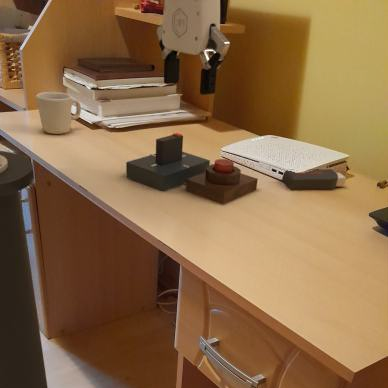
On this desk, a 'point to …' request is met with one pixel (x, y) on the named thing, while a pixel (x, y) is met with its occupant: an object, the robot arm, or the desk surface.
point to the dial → (169, 148)
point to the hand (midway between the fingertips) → (188, 88)
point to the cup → (56, 111)
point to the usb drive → (313, 180)
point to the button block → (221, 184)
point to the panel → (165, 170)
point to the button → (223, 166)
